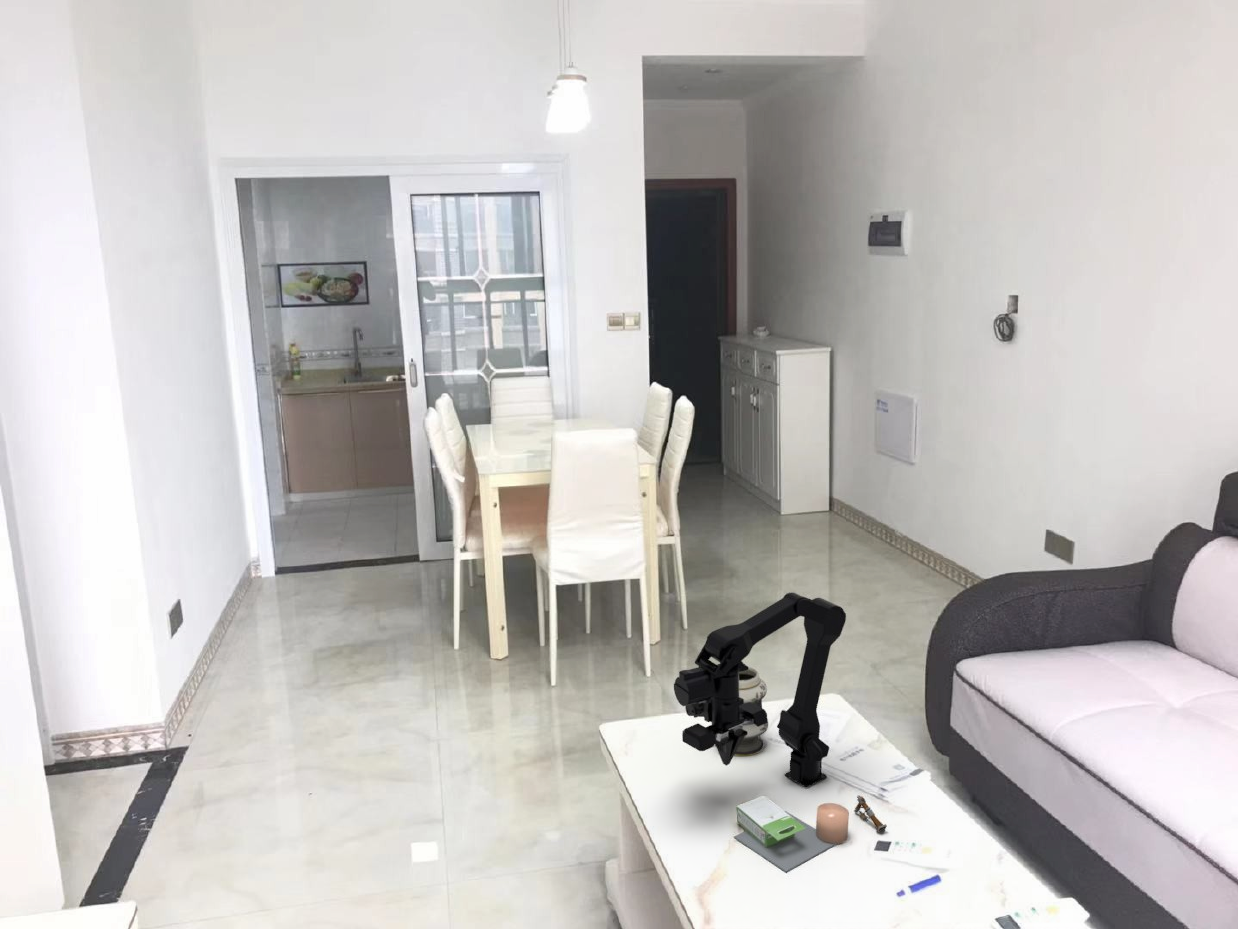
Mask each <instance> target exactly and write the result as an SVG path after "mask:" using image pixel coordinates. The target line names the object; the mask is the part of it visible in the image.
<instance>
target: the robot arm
mask: <svg viewBox="0 0 1238 929" xmlns="http://www.w3.org/2000/svg"><path fill="white" fill-rule="evenodd" d="M799 617H803V628H804V631H805V635H806V644H805V648H804V653H803V657H802V658H803V659H802V662H801V668H800V672H799V675H798V676H799V677H798V681H797V685H796V691H795V695H794V699H793V702H792V704H791V706H790V707H789V708H788V709H787V710H784V709H782V710H780V713H779V720H778V723H777V726H776V728H778V736H779V737H780V739H781V740H782V741H784V744H785V746H787V747H788V748H790V749H792V751H790V759H789V771H787V772H785V774H784V775H785V777H787V778H788V779H790V780H792V781H793V782H795V783H797V784H799V785H801V786H803V787H804V788H809V787H811V786H814V785H816V784H817V783H819V782H822V781H824V780H826V779H827V778H828V775H827V774H825V773H824V772H822V760H823V759H824V758H826V757H828V756H829V755H828V754H829V751H830V746H829V745H827V744H826V743H825V742H824V741H822V740H821V739H820V733H821V732H820V730H821V729H820V728H821V725H820V720H819V716H818V712H817V710H818V705H819V700H820V695H821V691H822V687H823V682H824V678H825V673H826V668H827V665H828V659H829V657H830V656H829V654H830V651H831V646H832V645H833V644H834V643H835V641H837V640H838V639H839V638H840V636H841V635H842V632H843V629H844V626H845V624H846V620H847V614H846V612H845V610H844V608H843V607H841V606H839V605H837V604H835V603H833V602H831V601H829V600H826V599H824V598H821V597H814V598H813V599H811V598H809V597H805V596H803V595H800V594H798V593H795V592H794V591H793V592H792V591H791V592H786V593H785V595H783V597H782V598H781V599H779V600H777V601H776V602H774V603H772V604H771V605H769V606H768V607H766V608H765V609H762V610H761V611H759V612H758V613H756V614H754V615H753V616H751V617H750V618H748V619H746V620H745V621H742V622H740V623H738V624H730V625H725V626H722V627H720V628H717V629H715V630H713V631H711V632H710V633H709V634H708V635H707V636H706V641H705V643H704V645H703V646H702V648H701V650H700V652H699V653H698V655H697V658H696V659H695V660H694V664H695V665H696V666H697V667H695V668H694V667H693V668H691V669H682V670H680V671H678V672H679V673H678V676H677V677H676V678H675V679H674V683H673V691H674V695H675V698H676V700H677V702H678V703H679V704H680V706H682V707H685V712H686V715H687V716H689V717H693V718H695V719H696V718H700V717H701V718H703V719H704V721H705V722H707V723H711V724H710V725H708V726H703V725H702V724H700V723H695V724H693V725H691V726H688V727H686V728H684V729H683V730H682V733H681V735H682V736H681V737H682V739H681V740H682V742H683V743H684V744H686V745H688V746H690V747H692V748H694V749H695V750H696V751H699V752H705V751H708V750H709V749H711V748H714V747H716V750H717V753H718V754H719V757H720V759H721V761H722V764H723V765H725V766H728V765H730V764H731V761H732V760H733V758H734V756H735V755H734V754H735V752H736V750H737V749H738V747H739V745H740V743H741V742H742V740H743V739H744V737H745V736H746V735H747V734H748V732H747V731H745V730H743V726H742V724H744V723H746V722H749V721H750V720H751V719H754V724H755V725H756V726H758V727H759V726H761V725H763V724H766V723H767V719H768V713H767V711H766V710H765V709H764V708H763V707H762V708H761V707H759V706H756V705H754V704H752V703H750V702H747V703H745V704H744V699H742V698H740V697H739V672H742V671H745V670H748V669H749V667H750V666H748V665H746V664H745V663H744V662H743V660H745V658H747V657H748V656H749V655H750V653H751V651H752V649H753V648H754V646H755V645H756V644H758V643H759V642H760V641H762V640H764V639H765V638H766V637H768V636H770V635H772V634H773V633H776V632H777V631H778V630H780V629H781V628H784V626H786V625H788V624H790V623H791V622H793V621H794V620H796V619H798V618H799ZM711 658H712V659H714V660H715V661H717V662H718V664H717V663H714V662H713V661H712V660H710V659H711ZM742 704H743V705H742ZM739 705H740V706H739Z"/></svg>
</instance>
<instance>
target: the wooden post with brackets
mask: <svg viewBox="0 0 1238 929" xmlns="http://www.w3.org/2000/svg"><path fill="white" fill-rule="evenodd" d="M856 798H857V799H856V801H857V802H858V804H857V805H856V806H855V807H854V810H853V812H854V813H855V814H857V813H858V814H859V818H861V820H862V821H863V822H866V823H868V821H869V819H870V820H871V821H872V823H873V824H874V827H875V829H876V834H878V833H880V832H883V831H885V830H886V828H887V826H888V825H887V824H886V823H885V824H884V823H882V822H881V820H880V819H878V817H876V814H875V813H874V812H873V810H872V809H871V807H870V806H869V805H868V804H867V803H866V802H867V801H866V799H865V798H864V796H861V795H857V796H856ZM861 809H863V810H864V812H863V810H861ZM868 818H869V819H868Z"/></svg>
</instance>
